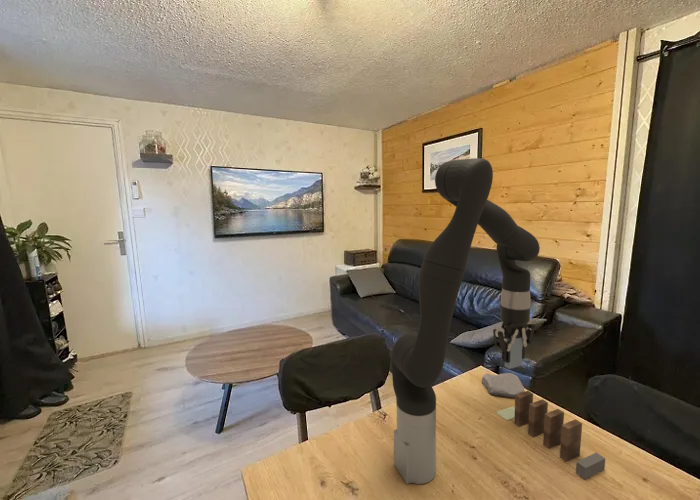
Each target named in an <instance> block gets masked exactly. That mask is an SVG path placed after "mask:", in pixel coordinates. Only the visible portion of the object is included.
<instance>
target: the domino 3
mask: <svg viewBox="0 0 700 500" xmlns="http://www.w3.org/2000/svg"><path fill="white" fill-rule="evenodd" d="M548 408H549V402H548V401H547V400H544V399H543V398H542V399H539V400H537V401H533V403H530V404H529V422H528V424H527V425H528V427H527V434H528V435H529V436H530V437H532V438H536V437H538V436H541V435H544V418H545V413H548V410H549V409H548Z"/></svg>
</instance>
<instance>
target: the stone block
mask: <svg viewBox="0 0 700 500" xmlns="http://www.w3.org/2000/svg"><path fill="white" fill-rule="evenodd" d="M481 381H482V382H481V384H482V385H483V386H484V387H485V388H486V390H487V392H488V394H490V395H494V396H501V397H505V398H513V399H515V395H516V394H519V393H522V392H525V391H526V390H525V387H524V386H523V383H522V382H521V380H520V378H519V377H518V376H517V375H516V374H514V373H511V372H505V373H504V372H503V373H500V374H490V373H485V374H483V375H482V378H481Z"/></svg>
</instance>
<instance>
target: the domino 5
mask: <svg viewBox="0 0 700 500" xmlns="http://www.w3.org/2000/svg"><path fill="white" fill-rule="evenodd" d="M582 430H583V422H581V421H579V420H577V418H576V419H572V420H571V421H568V422H564V423H563V424H562V428H561V444H560V445H559V446H560V448H559V459H561V460H562V461H564V463H568V462H570V461H572V460H574V459H576V458H578V457H580V456H581V444H582V443H581V442H582Z"/></svg>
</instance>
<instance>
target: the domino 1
mask: <svg viewBox="0 0 700 500" xmlns="http://www.w3.org/2000/svg"><path fill="white" fill-rule="evenodd" d="M521 338H522V337H521ZM521 338H516V339H515V341H514V344H512V346H511V349H510V351H511V352H510V363H506V362H504V367H505V368H506V369H513V368H517V367H520V366H522V365H523V359H522V348H523V343H522V340H521ZM505 339H508V340H510V338H508V337H506V338H505ZM507 344H508V343H507V342H506V341H505V346H507Z"/></svg>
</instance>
